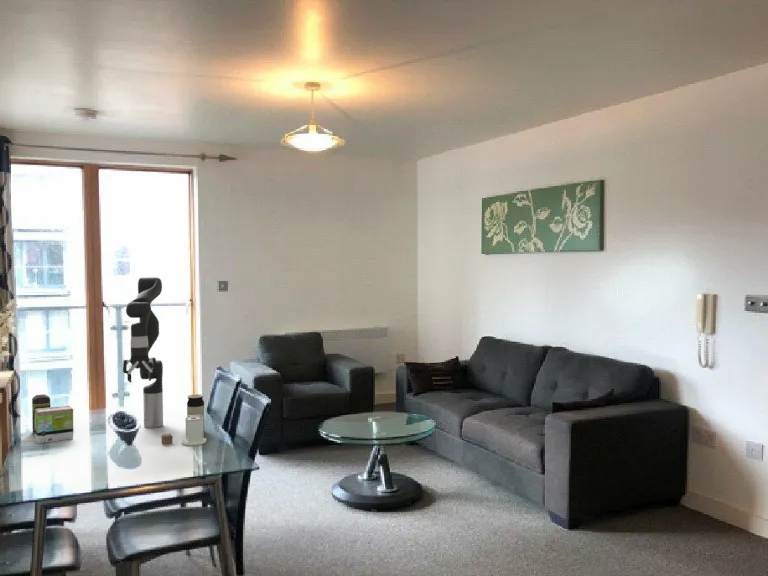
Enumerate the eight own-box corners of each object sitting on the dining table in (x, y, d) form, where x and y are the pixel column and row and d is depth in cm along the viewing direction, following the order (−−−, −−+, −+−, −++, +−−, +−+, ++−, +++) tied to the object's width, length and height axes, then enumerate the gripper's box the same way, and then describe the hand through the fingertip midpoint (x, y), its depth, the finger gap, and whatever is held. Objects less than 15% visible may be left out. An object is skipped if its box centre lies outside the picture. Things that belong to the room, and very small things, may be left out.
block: (161, 443, 298) (161, 434, 298) (170, 442, 300) (170, 433, 300) (163, 445, 295) (163, 436, 295) (172, 444, 297) (172, 435, 296)
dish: (179, 441, 300) (179, 439, 300) (203, 438, 306) (203, 435, 306) (184, 447, 291) (184, 444, 291) (209, 443, 296) (208, 441, 296)
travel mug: (194, 435, 312) (193, 397, 311) (184, 432, 316) (183, 395, 316) (208, 431, 318) (207, 395, 317) (197, 429, 323) (197, 393, 322)
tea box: (38, 444, 298) (37, 412, 297) (34, 439, 306) (33, 408, 305) (74, 439, 307) (73, 407, 306) (69, 435, 315) (69, 404, 314)
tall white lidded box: (187, 436, 310) (187, 415, 310) (200, 434, 313) (200, 413, 313) (190, 439, 305) (190, 417, 304) (203, 437, 308) (203, 416, 307)
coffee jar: (52, 433, 317) (51, 395, 316) (33, 436, 313) (32, 397, 312) (49, 429, 325) (49, 392, 324) (31, 432, 321) (31, 394, 320)
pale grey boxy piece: (185, 439, 299) (185, 417, 299) (199, 437, 302) (198, 415, 302) (188, 442, 294) (188, 419, 294) (202, 440, 297) (201, 418, 296)
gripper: (154, 344, 305) (155, 378, 306) (121, 346, 298) (122, 381, 299) (157, 345, 298) (157, 381, 299) (123, 347, 292) (124, 384, 292)
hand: (140, 381), depth 299 cm, fingers open, 8 cm apart
